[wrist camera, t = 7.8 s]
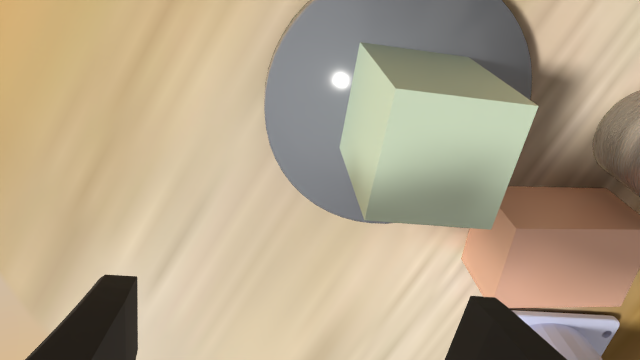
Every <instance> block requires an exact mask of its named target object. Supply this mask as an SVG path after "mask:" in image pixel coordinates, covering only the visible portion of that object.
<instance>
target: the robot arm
mask: <svg viewBox="0 0 640 360" xmlns="http://www.w3.org/2000/svg"><path fill="white" fill-rule="evenodd" d="M619 325H620V323H619V321H618V320H617V319H616V318H615V317H614V316H609V315H590V314H571V313H553V312H534V311H515V310H510V309H509V308H508V307H507V306H506V305H504V304H503V303H502V302H501V301H499V300H498V299H497V298H495V297H479V296H470V299H469V301H468V304H467V306H466V309H465V311H464V314H463V316H462V319H461V321H460V323H459V326H458V328H457V331H456V333H455V336H454V338H453V341H452V343H451V346H450V348H449V351H448V353H447V356H446V358H445V360H603V359H602V358H601V356H602V354H603V352H604V351H605V349H606V347H607V346H608V344H609V342H610V341H611V339H612V338H613V336H614V334H615V333H616V331H617V329H618V328H619ZM137 350H138V331H137V277H135V276H118V275H104V276H103V277H101V278H100V279H99V280H98V281H97V282H96V284H95V285H94V286H93V287H92V288H91V290H90V291H89V292H88V293H87V294H86V295H85V297H84V298H83V299H82V300H81V301H80V302H79V303H78V305H77V306H76V307H75V308H74V309H73V310H72V311H71V312H70V313H69V315H68V316H67V317H66V318H65V319H64V320H63V321H62V322H61V323H60V324H59V325H58V326H57V328H56V329H55V330H54V331H53V332H52V333H51V334H50V335H49V336H48V337H47V338H46V339H45V340H44V341H43V342H42V343H41V344H40V345H39V346H38V347H37V348H36V349H35V350H34V351H33V352H32V353H31V354H30V355H29V356H28V357H27V358H26V359H25V360H136V355H137Z"/></svg>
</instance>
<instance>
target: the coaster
mask: <svg viewBox="0 0 640 360" xmlns="http://www.w3.org/2000/svg"><path fill="white" fill-rule="evenodd" d="M360 42H363V43H370V44H377V45H384V46H391V47H399V48H406V49H413V50H420V51H428V52H435V53H442V54H449V55H457V56H464V57H469V58H471V59H472V60H473V61H475V62H476V63H478V64H479V65H481V66H482V67H483V68H485V69H486V70H488V71H489V72H491V73H492V74H493V75H495V76H496V77H498V78H499V79H501V80H502V81H504V82H505V83H506V84H508V85H509V86H511V87H512V88H514V89H515V90H516V91H518V92H519V93H521V94H522V95H524V96H525V97H526V98H528V99H529V100H530V97H531V87H532V70H531V59H530V55H529V50H528V46H527V43H526V40H525V37H524V35H523V32H522V29H521V27H520V26H519V24H518V22H517V20H516V19H515V17H514V15H513V13H512V12H511V11H510V10H509V8H508V7H507V6H506V5H505V4H504V2H503V1H502V0H310V1H308V2H307V3H306V4H305V5H304V6H303V8H302V9H301V10H300V11H299V12H298V13H297V14H296V16H295V17H294V18H293V19H292V21H291V22H290V24H289V25H288V27H287V28H286V30H285V31H284V33H283V34H282V36H281V38H280V40H279V42H278V44H277V46H276V48H275V50H274V53H273V56H272V59H271V62H270V65H269V68H268V73H267V78H266V84H265V99H264V106H265V121H266V130H267V134H268V138H269V143H270V146H271V149H272V151H273V154H274V156H275V159H276V161H277V162H278V164H279V166H280V168H281V170H282V171H283V173H284V174H285V176H286V177H287V178H288V180H289V181H290V182H291V183H292V185H293V186H294V187H295V188H296V189H297V190H298V191H299V192H300V193H301V194H302V195H303V196H305V197H306V198H307V199H309V200H310V201H311V202H313V203H314V204H315V205H317V206H319V207H321V208H323V209H324V210H326V211H328V212H330V213H333V214H335V215H338V216H340V217H343V218H347V219H351V220H354V221H360V222H367V223H385V224H387V223H393V222H380V221H366V220H364V218H363V215H362V212H361V209H360V206H359V203H358V200H357V197H356V195H355V192H354V189H353V186H352V183H351V180H350V177H349V174H348V171H347V168H346V165H345V162H344V160H343V157H342V154H341V151H340V142H341V137H342V132H343V127H344V122H345V117H346V112H347V106H348V101H349V96H350V91H351V86H352V81H353V75H354V70H355V65H356V60H357V55H358V50H359V44H360Z"/></svg>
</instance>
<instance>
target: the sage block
mask: <svg viewBox="0 0 640 360" xmlns="http://www.w3.org/2000/svg"><path fill="white" fill-rule="evenodd" d="M537 109H538V105H536V104H535V103H534V102H532V101H531V100H529V99H528V98H526V97H525V96H524V95H522V94H521V93H519V92H518V91H516V90H515V89H514V88H512V87H511V86H509V85H508V84H506V83H505V82H504V81H502V80H501V79H499V78H498V77H496V76H495V75H493V74H492V73H491V72H489V71H488V70H486V69H485V68H483V67H482V66H481V65H479V64H478V63H476V62H475V61H473V60H472V59H471V58H469V57H464V56H457V55H449V54H442V53H435V52H428V51H420V50H413V49H406V48H399V47H391V46H384V45H377V44H370V43H363V42H360V44H359V50H358V55H357V60H356V65H355V70H354V75H353V81H352V86H351V91H350V96H349V101H348V106H347V112H346V117H345V122H344V127H343V132H342V137H341V142H340V151H341V154H342V157H343V160H344V162H345V165H346V168H347V171H348V174H349V177H350V180H351V183H352V186H353V189H354V192H355V195H356V197H357V200H358V203H359V206H360V209H361V212H362V215H363V218H364V220H366V221H380V222H393V223H407V224H420V225H434V226H447V227H461V228H475V229H488V230H491V229H492V226H493V223H494V221H495V218H496V216H497V213H498V210H499V208H500V205H501V203H502V200H503V197H504V195H505V192H506V190H507V187H508V184H509V182H510V179H511V177H512V174H513V171H514V169H515V166H516V164H517V161H518V158H519V156H520V153H521V151H522V148H523V145H524V143H525V140H526V138H527V135H528V132H529V130H530V127H531V125H532V122H533V119H534V117H535V114H536V112H537Z"/></svg>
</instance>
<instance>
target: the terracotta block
mask: <svg viewBox="0 0 640 360" xmlns="http://www.w3.org/2000/svg"><path fill="white" fill-rule="evenodd" d="M461 259H462V261H463V263H464V264H465V266H466V268H467V270H468V271H469V273H470V275H471V276H472V278H473V280H474V282H475V283H476V285H477V287H478V288H479V290H480V292H481V293H482V295H483V297H495V298H497V299H498V300H499V301H501V302H502V303H503V304H504V305H506V306H507V307H508V308H549V307H612V306H621V305H622V303H623V301H624V299H625V297H626V295H627V293H628V291H629V289H630V286H631V284H632V282H633V280H634V278H635V276H636V274H637V272H638V270H639V268H640V215H639V214H638V213H637V212H636V211H634V210H633V209H632V208H631V207H629V206H628V205H627V204H626V203H624V202H623V201H622V200H620V199H619V198H618V197H617V196H615V195H614V194H613V193H612V192H610V191H609V190H608V189H607V188H569V187H522V186H508V187H507V190H506V192H505V195H504V197H503V200H502V203H501V205H500V208H499V210H498V213H497V216H496V218H495V221H494V223H493V226H492V229H491V230H488V229H475V228H470V229H469V233H468V236H467V240H466V244H465V247H464V251H463V254H462V258H461Z"/></svg>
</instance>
